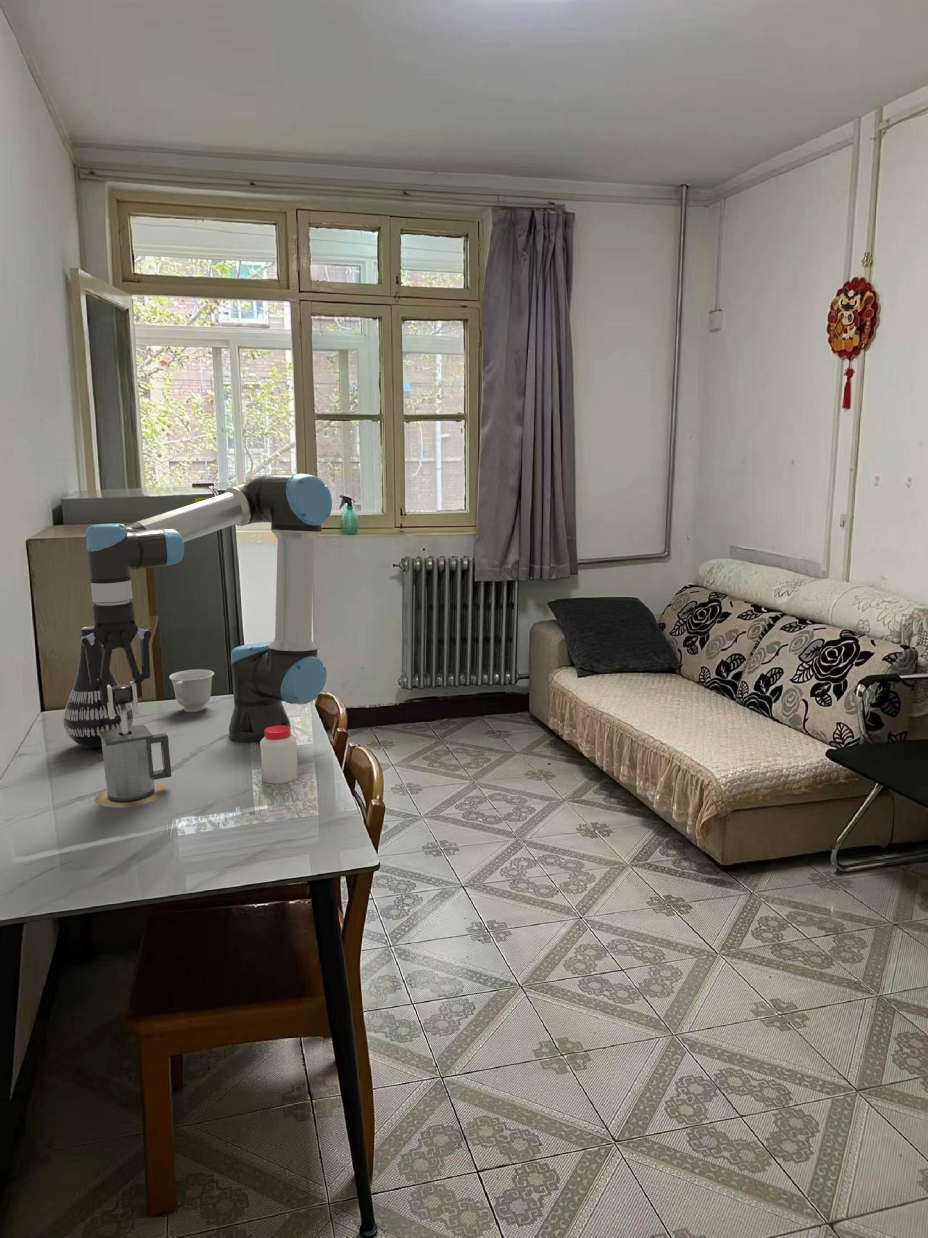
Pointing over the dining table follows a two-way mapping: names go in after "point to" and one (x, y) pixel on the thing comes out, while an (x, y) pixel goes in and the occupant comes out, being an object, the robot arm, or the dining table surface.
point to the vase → (91, 703)
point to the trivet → (104, 801)
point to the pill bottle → (279, 755)
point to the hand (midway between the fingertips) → (123, 715)
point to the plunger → (122, 703)
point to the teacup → (192, 688)
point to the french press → (132, 763)
